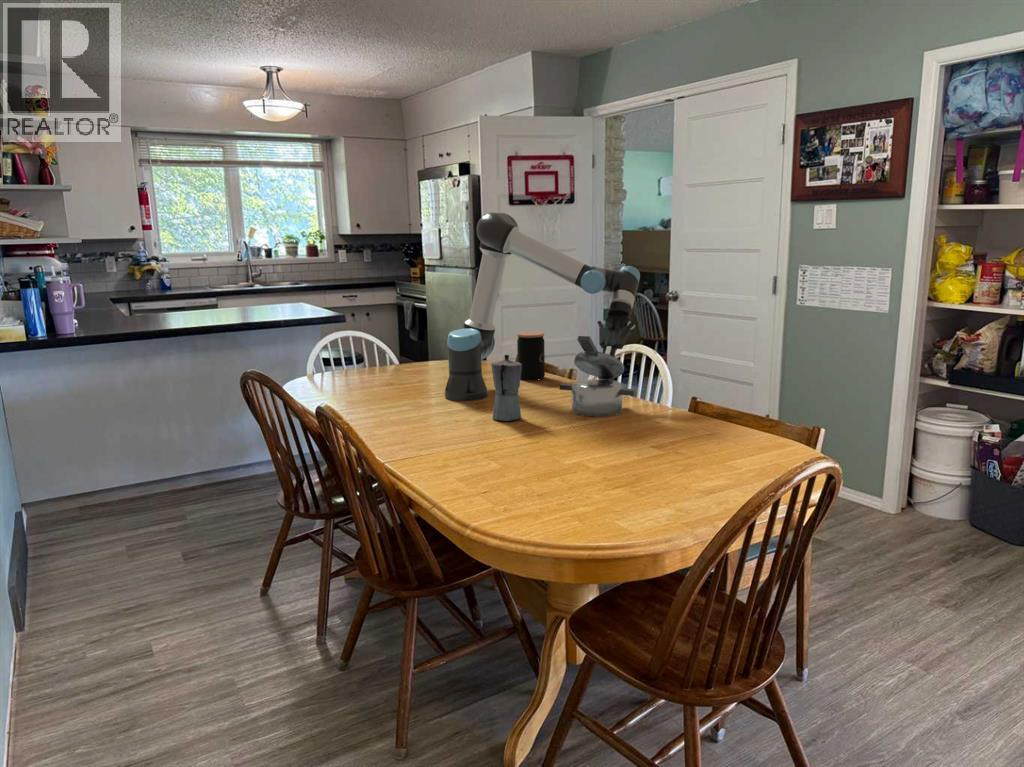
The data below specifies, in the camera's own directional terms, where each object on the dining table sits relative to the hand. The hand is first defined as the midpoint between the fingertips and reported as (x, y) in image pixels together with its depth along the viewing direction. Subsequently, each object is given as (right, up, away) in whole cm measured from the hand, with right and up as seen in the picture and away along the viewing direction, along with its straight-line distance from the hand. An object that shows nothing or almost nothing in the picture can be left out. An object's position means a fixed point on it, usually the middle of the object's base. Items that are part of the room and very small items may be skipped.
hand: (605, 365), depth 224 cm
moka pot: (-32, -17, -8) cm, 37 cm away
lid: (-4, +1, -6) cm, 7 cm away
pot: (-2, -14, 0) cm, 15 cm away
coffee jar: (-23, -4, +52) cm, 57 cm away
